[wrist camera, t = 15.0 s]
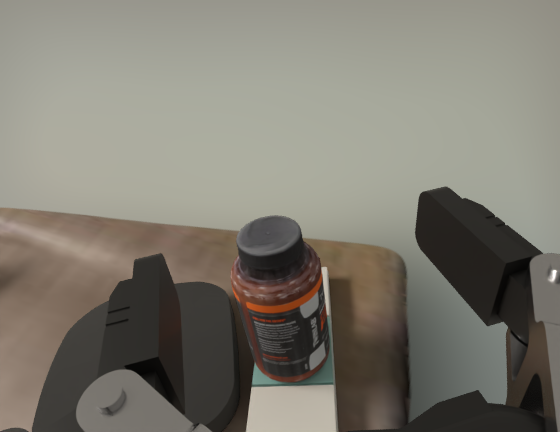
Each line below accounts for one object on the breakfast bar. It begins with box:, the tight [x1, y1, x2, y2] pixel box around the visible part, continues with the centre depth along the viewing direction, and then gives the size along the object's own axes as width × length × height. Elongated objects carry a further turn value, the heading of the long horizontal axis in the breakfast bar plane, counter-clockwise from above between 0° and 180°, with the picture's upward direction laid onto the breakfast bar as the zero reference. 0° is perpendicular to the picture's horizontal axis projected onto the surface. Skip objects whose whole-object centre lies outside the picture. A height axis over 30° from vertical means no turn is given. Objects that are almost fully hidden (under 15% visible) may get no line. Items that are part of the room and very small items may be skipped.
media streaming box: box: [32, 282, 240, 432], centre depth 32 cm, size 15×15×3 cm
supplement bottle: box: [231, 216, 330, 382], centre depth 27 cm, size 6×6×11 cm
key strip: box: [246, 267, 339, 432], centre depth 31 cm, size 18×6×2 cm, turn 177°
